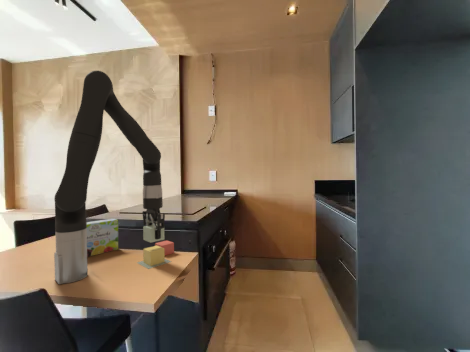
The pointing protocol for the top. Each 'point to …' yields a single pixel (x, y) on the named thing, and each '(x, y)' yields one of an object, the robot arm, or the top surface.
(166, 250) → the brick red
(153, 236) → the brick sage
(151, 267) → the baseplate
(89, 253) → the snack box
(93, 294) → the top surface
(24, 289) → the top surface
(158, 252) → the brick mustard
